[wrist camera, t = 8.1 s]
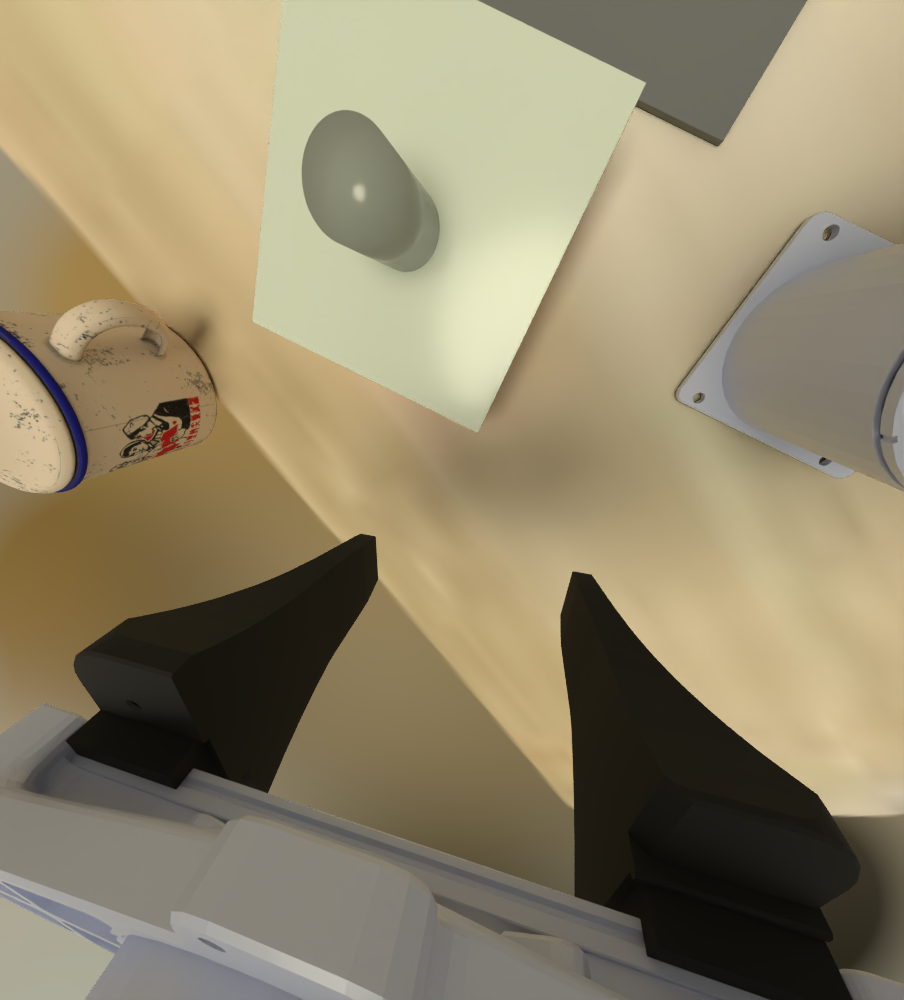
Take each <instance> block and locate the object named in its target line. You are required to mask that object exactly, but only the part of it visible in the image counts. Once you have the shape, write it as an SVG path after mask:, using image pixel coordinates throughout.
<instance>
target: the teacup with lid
mask: <svg viewBox="0 0 904 1000" xmlns="http://www.w3.org/2000/svg"><path fill="white" fill-rule="evenodd" d="M216 414H217V404H216V397H215V392H214V389H213V385H212V383H211V380H210V377H209V375H208V373H207V371H206V369H205V367H204V366H203V364H202V362H201V361H200V359H199V358H198V357H197V355H196V354H195V353H194V351H193V350H192V349H191V348H190V347H189V346H188V344H187V343H186V342H185V341H184V340H182V339H181V338H180V337H179V336H178V335H177V334H175V333H174V332H173V331H171V330H170V329H168V328H167V326H166V325H165V324H164V322H163V321H162V320H161V319H160V318H159V317H158V316H157V315H156V314H155V313H154V312H152V311H151V310H150V309H148V308H146V307H144V306H142V305H139V304H137V303H133V302H129V301H124V300H117V299H101V300H94V301H89V302H86V303H84V304H81V305H79V306H76V307H74V308H72V309H71V310H69V311H68V312H66V313H65V314H54V313H30V312H9V311H0V482H2V483H4V484H6V485H9V486H11V487H14V488H16V489H19V490H23V491H27V492H34V493H52V492H64V491H68V490H71V489H73V488H74V487H76V486H77V485H78V484H79V483H80V482H81V481H83V480H86V479H89V478H93V477H96V476H99V475H102V474H105V473H108V472H111V471H114V470H117V469H120V468H123V467H127V466H130V465H133V464H136V463H139V462H142V461H145V460H148V459H151V458H155V457H158V456H161V455H164V454H167V453H170V452H173V451H176V450H179V449H183V448H185V447H189V446H192V445H195V444H197V443H199V442H201V441H203V440H204V439H205V438H206V437H207V436H208V435H209V434H210V433H211V431H212V429H213V427H214V424H215V420H216Z"/></svg>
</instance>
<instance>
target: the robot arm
mask: <svg viewBox="0 0 904 1000" xmlns="http://www.w3.org/2000/svg"><path fill="white" fill-rule="evenodd" d="M827 227H828V228H830V229H831V230H832V234H831V236H830V238H829V239H828V240H827V241H824V240H823V238H822V234H823V232H824V230H825V229H826V228H827ZM697 393H701V398H700V400H699V401H697V402H693V396H694V395H695V394H697ZM676 398H677V400H678V401H679V402H681V403H683V404H685V405H687V406H689V407H691V408H693V409H695V410H697V411H700V412H702V413H704V414H706V415H708V416H710V417H712V418H714V419H716V420H718V421H720V422H722V423H724V424H726V425H728V426H730V427H732V428H734V429H736V430H738V431H740V432H742V433H744V434H746V435H748V436H750V437H752V438H754V439H756V440H758V441H760V442H762V443H764V444H766V445H768V446H771V447H773V448H775V449H777V450H779V451H781V452H783V453H785V454H787V455H789V456H791V457H793V458H795V459H797V460H799V461H801V462H803V463H805V464H807V465H809V466H811V467H813V468H815V469H817V470H819V471H821V472H823V473H825V474H827V475H829V476H831V477H834V478H837V479H839V478H845V477H848V476H849V475H851V474H852V473H854V472H855V471H857V472H859V473H862V474H864V475H866V476H869V477H871V478H874V479H876V480H878V481H881V482H883V483H885V484H888V485H890V486H892V487H895V488H897V489H899V490H902V491H904V243H902V244H898V245H896V244H894V243H892V242H890V241H888V240H886V239H884V238H882V237H879V236H877V235H875V234H873V233H871V232H869V231H867V230H865V229H863V228H861V227H859V226H857V225H855V224H853V223H851V222H849V221H847V220H845V219H843V218H841V217H839V216H837V215H835V214H833V213H830V212H821V213H817V214H815V215H813V216H811V217H810V218H808V219H807V220H806V221H805V222H804V223H803V224H802V225H801V226H800V227H799V229H798V230H797V231H796V233H795V234H794V235H793V237H792V238H791V239H790V241H789V242H788V243H787V245H786V246H785V247H784V249H783V250H782V251H781V253H780V254H779V255H778V256H777V258H776V259H775V260H774V262H773V263H772V264H771V266H770V267H769V268H768V270H767V271H766V272H765V274H764V275H763V276H762V278H761V279H760V280H759V282H758V283H757V284H756V286H755V287H754V288H753V290H752V291H751V292H750V294H749V295H748V296H747V298H746V299H745V300H744V302H743V303H742V304H741V305H740V307H739V308H738V309H737V311H736V312H735V313H734V315H733V316H732V317H731V319H730V320H729V321H728V323H727V324H726V325H725V327H724V328H723V329H722V331H721V332H720V333H719V335H718V336H717V337H716V339H715V340H714V341H713V343H712V344H711V345H710V347H709V348H708V349H707V350H706V352H705V353H704V354H703V356H702V357H701V358H700V360H699V361H698V362H697V364H696V365H695V366H694V368H693V369H692V370H691V372H690V373H689V374H688V376H687V377H686V378H685V380H684V381H683V382H682V384H681V385H680V386H679V388H678V389H677V391H676ZM822 457H824V458H826V459H825V460H824V461H823V462H821V463H819V460H820V459H821V458H822ZM377 580H378V570H377V553H376V537H375V536H370V535H364V534H359V535H357V536H355V537H353V538H351V539H350V540H348V541H346V542H344V543H342V544H340V545H339V546H337V547H335V548H333V549H331V550H330V551H328V552H326V553H324V554H322V555H320V556H318V557H317V558H315V559H313V560H311V561H309V562H307V563H305V564H303V565H301V566H299V567H297V568H295V569H293V570H291V571H289V572H286V573H284V574H282V575H280V576H277V577H275V578H273V579H270V580H268V581H265V582H263V583H260V584H258V585H255V586H252V587H249V588H246V589H244V590H240V591H237V592H234V593H231V594H228V595H225V596H223V597H219V598H216V599H213V600H209V601H206V602H202V603H198V604H194V605H190V606H186V607H182V608H178V609H174V610H169V611H165V612H159V613H154V614H150V615H145V616H140V617H135V618H129V619H127V620H125V621H124V622H122V623H121V624H119V625H118V626H116V627H115V628H114V629H112V630H111V631H110V632H108V633H107V634H105V635H104V636H102V637H101V638H100V639H98V640H97V641H95V642H94V643H93V644H91V645H90V646H88V647H87V648H85V649H84V650H83V651H81V652H80V653H79V654H77V655H76V657H75V661H74V668H75V673H76V674H77V676H78V678H79V680H80V681H81V683H82V684H83V686H84V687H85V688H86V690H87V691H88V693H89V694H90V695H91V697H92V698H93V699H94V701H95V703H96V704H97V705H98V707H99V708H100V711H99V712H98V713H97V714H96V715H95V716H93V717H92V718H91V719H90V720H89V721H87V720H86V719H84V718H83V717H82V716H80V715H78V714H76V713H73V712H70V711H67V710H64V709H61V708H58V707H55V706H52V705H48V704H42V705H39V706H38V707H37V708H35V709H34V710H33V711H31V712H30V713H29V714H28V715H26V716H25V717H24V718H22V719H21V720H19V721H18V722H17V723H15V724H14V725H13V726H11V727H10V728H9V729H7V730H6V731H5V732H3V733H2V734H1V735H0V897H1V898H3V899H6V900H8V901H10V902H12V903H14V904H16V905H18V906H20V907H22V908H24V909H26V910H28V911H30V912H32V913H34V914H36V915H38V916H40V917H42V918H44V919H46V920H48V921H50V922H52V923H54V924H56V925H58V926H60V927H62V928H64V929H66V930H68V931H70V932H72V933H74V934H76V935H78V936H80V937H82V938H84V939H86V940H88V941H90V942H92V943H94V944H96V945H98V946H100V947H102V948H104V949H106V950H108V951H109V952H111V953H113V954H115V956H114V957H113V959H112V960H111V962H110V963H109V965H108V966H107V968H106V969H105V971H104V972H103V973H102V975H101V976H100V978H99V979H98V981H97V982H96V984H95V985H94V987H93V988H92V990H91V991H90V993H89V994H88V996H87V997H86V999H85V1000H904V984H901V983H898V982H895V981H892V980H889V979H886V978H883V977H880V976H877V975H874V974H870V973H867V972H862V971H859V970H852V969H839V970H838V968H837V965H836V963H835V961H834V959H833V957H832V955H831V953H830V951H829V949H828V947H827V945H826V942H830V941H832V940H833V934H832V931H831V929H830V927H829V925H828V924H827V921H826V919H825V917H824V916H823V913H822V911H821V909H820V907H821V906H823V905H824V904H826V903H828V902H829V901H831V900H832V899H834V898H836V897H838V896H839V895H841V894H843V893H844V892H846V891H848V890H849V889H850V888H851V887H852V886H853V885H854V884H855V883H856V882H857V881H858V878H859V875H860V870H861V866H860V864H859V862H858V859H857V857H856V855H855V854H854V852H853V850H852V849H851V847H850V846H849V844H848V842H847V841H846V839H845V837H844V835H843V834H842V832H841V831H840V829H839V827H838V826H837V824H836V822H835V821H834V820H833V818H832V816H831V814H830V813H829V811H828V810H827V808H826V807H825V805H824V804H823V802H822V801H821V799H820V798H819V796H818V795H817V794H816V793H814V792H813V791H812V790H810V789H809V788H808V787H806V786H805V785H804V784H802V783H801V782H800V781H798V780H797V779H795V778H794V777H793V776H791V775H790V774H789V773H787V772H786V771H785V770H783V769H782V768H781V767H779V766H778V765H777V764H775V763H774V762H773V761H771V760H770V759H768V758H767V757H766V756H764V755H763V754H762V753H760V752H759V751H758V750H757V749H755V748H754V747H753V746H752V745H750V744H749V743H748V742H747V741H746V740H744V739H743V738H742V737H741V736H739V735H738V734H737V733H736V732H734V731H733V730H732V729H731V728H729V727H728V726H727V725H726V724H725V723H724V722H722V721H721V720H720V719H719V718H718V717H717V716H715V715H714V714H713V713H712V712H711V711H710V710H708V709H707V708H706V707H705V706H704V705H703V704H702V703H701V702H700V701H699V700H698V699H696V698H695V697H694V696H693V695H692V694H691V693H690V692H689V691H688V690H687V689H686V688H684V687H683V686H682V685H681V684H680V683H679V682H678V681H677V680H676V679H675V678H674V677H673V676H672V675H671V674H670V673H669V672H668V671H667V670H666V668H665V667H664V666H663V665H662V664H661V663H660V662H659V661H658V660H657V659H656V658H655V657H654V656H653V655H652V654H651V653H650V651H649V650H648V649H647V648H646V647H645V646H644V644H643V643H642V642H641V641H640V640H639V639H638V637H637V636H636V635H635V634H634V633H633V631H632V630H631V629H630V628H629V626H628V625H627V624H626V622H625V621H624V620H623V618H622V617H621V616H620V614H619V613H618V612H617V610H616V609H615V608H614V606H613V605H612V603H611V602H610V601H609V599H608V598H607V596H606V595H605V593H604V592H603V591H602V589H601V588H600V586H599V585H598V583H597V582H596V580H595V579H594V578H593V576H592V575H590V574H585V573H579V572H572V576H571V579H570V583H569V587H568V590H567V594H566V598H565V601H564V605H563V608H562V612H561V648H562V656H563V663H564V671H565V678H566V685H567V692H568V699H569V707H570V716H571V727H572V750H573V781H574V833H575V897H574V896H571V895H568V894H565V893H562V892H559V891H556V890H553V889H550V888H547V887H544V886H541V885H538V884H535V883H532V882H529V881H527V880H524V879H521V878H518V877H515V876H512V875H509V874H506V873H503V872H500V871H497V870H494V869H491V868H488V867H485V866H482V865H479V864H476V863H473V862H470V861H467V860H464V859H461V858H458V857H455V856H452V855H449V854H446V853H443V852H440V851H437V850H434V849H432V848H429V847H426V846H423V845H419V844H417V843H414V842H411V841H408V840H405V839H402V838H399V837H396V836H393V835H390V834H387V833H384V832H381V831H378V830H375V829H372V828H369V827H366V826H363V825H360V824H357V823H354V822H351V821H349V820H346V819H343V818H339V817H337V816H334V815H330V814H328V813H325V812H322V811H319V810H316V809H313V808H310V807H307V806H304V805H301V804H298V803H295V802H292V801H289V800H286V799H283V798H280V797H277V796H274V795H271V794H268V791H269V789H270V787H271V785H272V782H273V780H274V777H275V775H276V773H277V770H278V768H279V766H280V763H281V761H282V758H283V756H284V754H285V752H286V749H287V747H288V745H289V743H290V741H291V739H292V736H293V734H294V732H295V730H296V728H297V725H298V723H299V721H300V719H301V716H302V715H303V713H304V711H305V709H306V706H307V704H308V702H309V700H310V698H311V696H312V694H313V692H314V690H315V688H316V686H317V684H318V682H319V680H320V678H321V677H322V675H323V673H324V671H325V669H326V667H327V665H328V663H329V661H330V660H331V658H332V656H333V655H334V653H335V651H336V650H337V648H338V647H339V645H340V644H341V642H342V641H343V639H344V637H345V636H346V634H347V633H348V631H349V630H350V628H351V627H352V625H353V624H354V622H355V621H356V619H357V617H358V616H359V614H360V613H361V611H362V610H363V608H364V606H365V605H366V603H367V602H368V599H369V597H370V595H371V593H372V591H373V589H374V587H375V585H376V582H377ZM825 941H826V942H825Z"/></svg>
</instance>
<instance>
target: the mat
mask: <svg viewBox="0 0 904 1000" xmlns="http://www.w3.org/2000/svg"><path fill="white" fill-rule="evenodd" d="M478 1H480V2H482V3H484V4H486V5H488V6H490V7H492V8H494V9H496V10H498V11H500V12H502V13H504V14H507V15H509V16H511V17H513V18H515V19H517V20H519V21H521V22H523V23H525V24H527V25H529V26H531V27H533V28H535V29H537V30H539V31H541V32H543V33H545V34H547V35H549V36H551V37H553V38H556V39H558V40H560V41H562V42H564V43H566V44H568V45H570V46H572V47H574V48H576V49H578V50H580V51H582V52H584V53H586V54H588V55H590V56H592V57H594V58H596V59H598V60H600V61H602V62H605V63H607V64H609V65H611V66H613V67H615V68H617V69H619V70H621V71H623V72H625V73H627V74H629V75H631V76H633V77H635V78H637V79H639V80H641V81H643V82H645V83H646V84H645V86H644V89H643V91H642V93H641V96H640V98H639V100H638V102H637V104H636V106H637V107H639V108H641V109H643V110H645V111H647V112H649V113H651V114H653V115H655V116H657V117H659V118H661V119H663V120H666V121H668V122H670V123H672V124H674V125H676V126H678V127H680V128H682V129H684V130H686V131H688V132H690V133H692V134H694V135H696V136H698V137H700V138H702V139H704V140H706V141H708V142H710V143H713V144H715V145H717V146H719V145H720V144H721V142H722V141H723V140H724V138H725V137H726V135H727V133H728V132H729V130H730V128H731V127H732V125H733V123H734V122H735V120H736V118H737V117H738V115H739V113H740V112H741V110H742V108H743V107H744V105H745V103H746V102H747V100H748V98H749V97H750V95H751V93H752V91H753V90H754V88H755V86H756V85H757V83H758V81H759V80H760V78H761V76H762V75H763V73H764V71H765V70H766V68H767V66H768V65H769V63H770V61H771V60H772V58H773V56H774V55H775V53H776V51H777V50H778V48H779V46H780V45H781V43H782V41H783V40H784V38H785V36H786V35H787V33H788V31H789V30H790V28H791V26H792V25H793V23H794V21H795V20H796V18H797V16H798V15H799V13H800V11H801V9H802V8H803V6H804V4H805V3H806V1H807V0H478Z"/></svg>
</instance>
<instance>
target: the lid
mask: <svg viewBox="0 0 904 1000" xmlns="http://www.w3.org/2000/svg"><path fill="white" fill-rule="evenodd" d="M645 84H646V83H645V82H643V81H641V80H639V79H637V78H635V77H633V76H631V75H629V74H627V73H625V72H623V71H621V70H619V69H617V68H615V67H613V66H611V65H609V64H607V63H605V62H602V61H600V60H598V59H596V58H594V57H592V56H590V55H588V54H586V53H584V52H582V51H580V50H578V49H576V48H574V47H572V46H570V45H568V44H566V43H564V42H562V41H560V40H558V39H556V38H553V37H551V36H549V35H547V34H545V33H543V32H541V31H539V30H537V29H535V28H533V27H531V26H529V25H527V24H525V23H523V22H521V21H519V20H517V19H515V18H513V17H511V16H509V15H507V14H504V13H502V12H500V11H498V10H496V9H494V8H492V7H490V6H488V5H486V4H484V3H482V2H480V1H478V0H282V10H281V21H280V32H279V42H278V53H277V64H276V74H275V85H274V96H273V106H272V117H271V128H270V138H269V149H268V160H267V170H266V181H265V192H264V202H263V213H262V224H261V235H260V245H259V256H258V267H257V277H256V288H255V299H254V309H253V320H252V322H254V323H256V324H258V325H260V326H262V327H264V328H266V329H268V330H270V331H272V332H274V333H276V334H278V335H280V336H282V337H285V338H287V339H289V340H291V341H293V342H295V343H297V344H299V345H301V346H303V347H305V348H307V349H309V350H311V351H313V352H315V353H317V354H319V355H321V356H323V357H325V358H327V359H329V360H331V361H333V362H335V363H337V364H339V365H341V366H343V367H345V368H347V369H349V370H351V371H353V372H355V373H357V374H359V375H361V376H363V377H365V378H367V379H369V380H371V381H373V382H375V383H377V384H379V385H381V386H383V387H385V388H388V389H390V390H392V391H394V392H396V393H398V394H400V395H402V396H404V397H406V398H408V399H410V400H412V401H414V402H416V403H418V404H420V405H422V406H424V407H426V408H428V409H430V410H432V411H434V412H436V413H438V414H440V415H442V416H444V417H446V418H448V419H450V420H452V421H454V422H456V423H458V424H460V425H462V426H464V427H466V428H468V429H470V430H472V431H474V432H476V433H478V431H479V430H480V428H481V426H482V424H483V422H484V420H485V417H486V415H487V413H488V411H489V409H490V407H491V405H492V403H493V401H494V399H495V397H496V395H497V393H498V390H499V388H500V386H501V384H502V382H503V380H504V378H505V376H506V374H507V372H508V370H509V368H510V366H511V364H512V361H513V359H514V357H515V355H516V353H517V351H518V349H519V347H520V345H521V343H522V341H523V339H524V337H525V334H526V332H527V330H528V328H529V326H530V324H531V322H532V320H533V318H534V316H535V314H536V312H537V310H538V307H539V305H540V303H541V301H542V299H543V297H544V295H545V293H546V291H547V289H548V287H549V285H550V283H551V281H552V278H553V276H554V274H555V272H556V270H557V268H558V266H559V264H560V262H561V260H562V258H563V256H564V254H565V251H566V249H567V247H568V245H569V243H570V241H571V239H572V237H573V235H574V233H575V231H576V229H577V227H578V224H579V222H580V220H581V218H582V216H583V214H584V212H585V210H586V208H587V206H588V204H589V202H590V200H591V198H592V195H593V193H594V191H595V189H596V187H597V185H598V183H599V181H600V179H601V177H602V175H603V173H604V171H605V168H606V166H607V164H608V162H609V160H610V158H611V156H612V154H613V152H614V150H615V148H616V146H617V144H618V141H619V139H620V137H621V135H622V133H623V131H624V129H625V127H626V125H627V123H628V121H629V119H630V117H631V115H632V112H633V110H634V108H635V106H636V104H637V102H638V100H639V98H640V96H641V93H642V91H643V89H644V86H645Z"/></svg>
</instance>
